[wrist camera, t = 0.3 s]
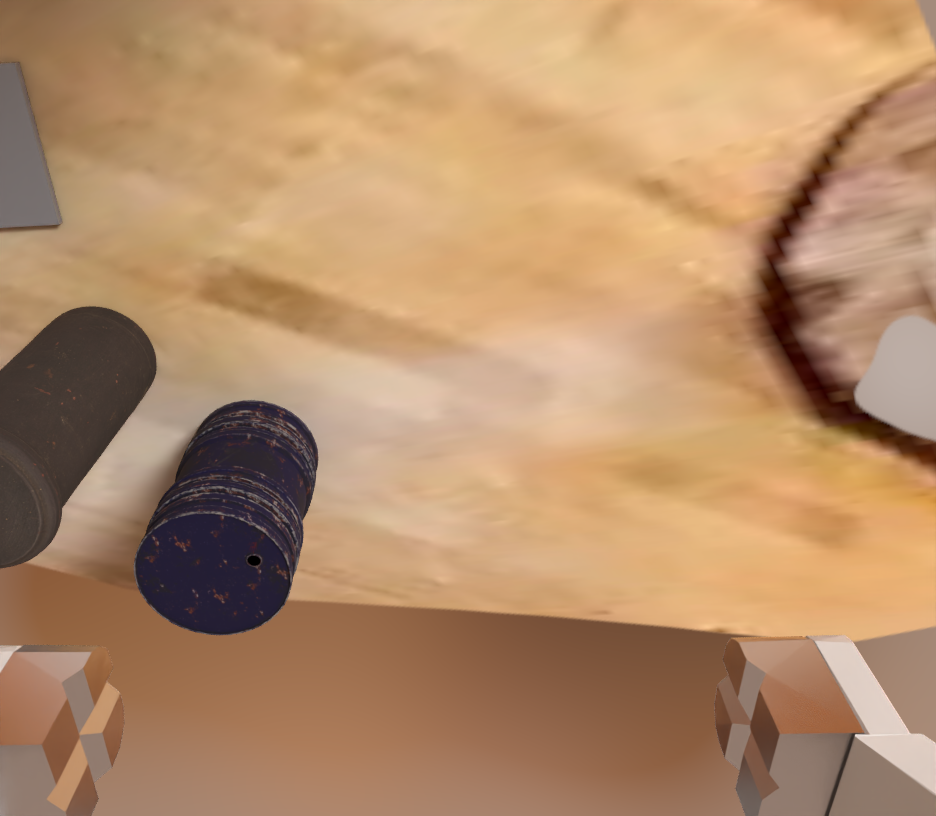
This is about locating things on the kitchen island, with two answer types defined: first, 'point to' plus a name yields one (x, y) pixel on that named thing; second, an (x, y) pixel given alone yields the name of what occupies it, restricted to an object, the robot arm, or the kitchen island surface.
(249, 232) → the kitchen island surface
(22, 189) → the coaster
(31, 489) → the container
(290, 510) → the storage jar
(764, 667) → the robot arm
